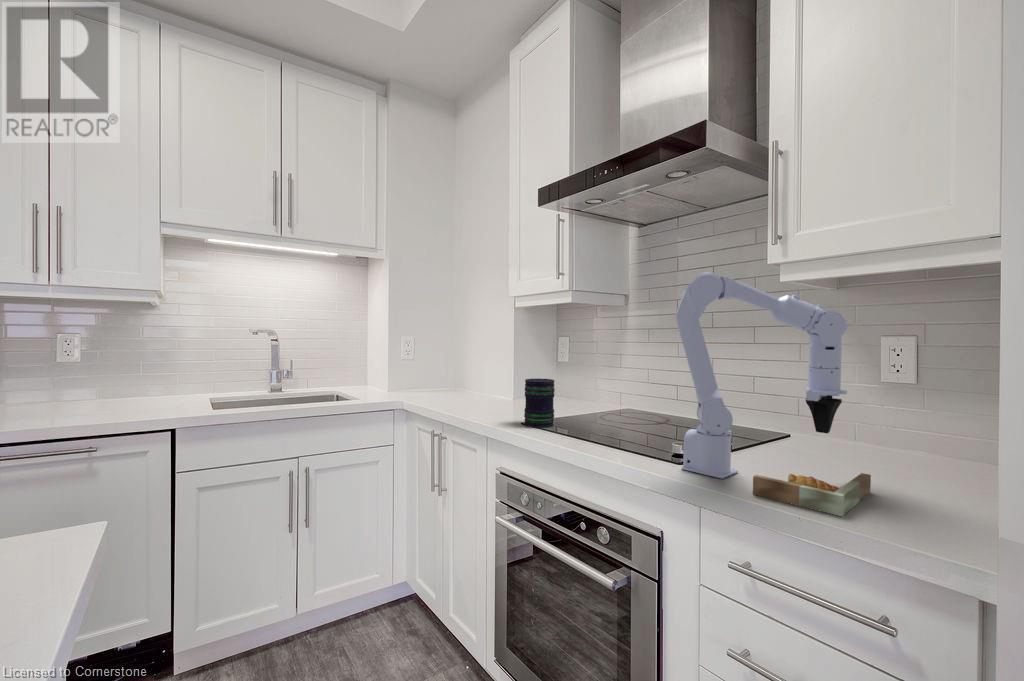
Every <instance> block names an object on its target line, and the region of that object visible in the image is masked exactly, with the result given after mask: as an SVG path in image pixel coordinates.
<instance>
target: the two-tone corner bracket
mask: <svg viewBox="0 0 1024 681" xmlns="http://www.w3.org/2000/svg"><path fill="white" fill-rule="evenodd" d="M871 477H872V475H871V474H868V473H863V472H862V473H860V474H858V475H857V476H855V477H853V478H852V479H851V480H850V481H848V482H846V483H845V484H844V485H842V486H841V487H840V488H839V489H838V490H837V491H835V492H831V491H827V490H822V489H818V488H813V487H809V486H804V485H800V484H795V483H791V482H788V480H787V481H786V480H781V479H777V478H772V477H768V476H763V475H759V474H755V475H753V477H752V495H754V496H757V495H758V496H759V497H761V496H762V498H765V497H766V498H765V499H769V500H773V499H774V500H773V501H777V500H778V502H781V501H783V502H782V503H785V502H787V503H786V504H789V503H792V504H791V505H793V504H796V505H795V506H797V505H799V506H798V507H801V506H804V507H803V508H805V507H808V508H807V509H809V508H812V509H811V510H813V509H816V510H815V511H817V510H820V511H819V512H821V511H823V512H822V513H825V512H827V513H826V514H828V513H831V514H830V515H832V514H834V516H836V515H838V516H837V517H840V516H842V517H843V516H845V514H847V513H846V512H849V511H850V510H852V508H854V507H856V505H857V504H858V503H860V502H861V501H862V500H863V499H865V498H866V497H867V496H868V495H869V494H870V493H871V484H872V483H871V482H872V479H871Z"/></svg>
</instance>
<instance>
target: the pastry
mask: <svg viewBox="0 0 1024 681" xmlns="http://www.w3.org/2000/svg"><path fill="white" fill-rule="evenodd" d="M787 482H791V483H795V484H800V485H804V486H809V487H813V488H818V489H822V490H827V491H831V492H835V491H837V490H838V489H840V488H839V486H836V485H833V484H832V485H831V484H830V483H828V482H826V481H823V480H821V479H818V478H817V479H816V478H815V477H813V476H805V475H802V474H801V475H800V474H799V475H795V474H793V473H789V474H788V476H787Z"/></svg>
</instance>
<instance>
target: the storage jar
mask: <svg viewBox="0 0 1024 681" xmlns="http://www.w3.org/2000/svg"><path fill="white" fill-rule="evenodd" d="M524 382H525V384H524V397H525V408H524V414H523V417H524V426H525V427H528V428H531V429H548V428H552V427H554V426H555V425H554V421H555V420H554V419H555V408H554V398H555V390H556V389H555V379H551V378H526V379H525V380H524Z"/></svg>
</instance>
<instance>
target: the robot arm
mask: <svg viewBox="0 0 1024 681" xmlns="http://www.w3.org/2000/svg"><path fill="white" fill-rule="evenodd" d="M731 299H734V300H737V301H740V302H742V303H745V304H749V305H751V306H754V307H757V308H759V309H763V310H765V311H769V312H770V313H771V316H772V319H773V320H775V321H777V322H779V323H782V324H785V325H788V326H790V327H792V328H795V329H798V330H800V331H803V332H806V333H807V334H808V335H809V346H808V371H807V373H808V376H807V378H808V379H807V387H806V396H805V397H806V398H805V403H806V404H807V406H808V407H809V408H808V409H809V410H810V412H811V416H812V420H813V425H814V429H815V432H816V433H820V434H830V431H831V429H832V425H833V421H834V418H835V415H836V413H837V411H838V409H839V407H840V405H842V403H843V400H842V398H833V397H840V396H841V395H847V394H848V390H847V389H841V381H842V380H841V379H842V378H841V376H842V372H841V371H842V369H841V368H842V347H843V346H842V336H843V335H844V334H845V333H846V331H847V330H848V327H849V324H848V323H846V319H845V317H844V316H843V315H842V313H840V312H837V311H836V310H835V311H834V310H824V309H823V308H824V306H823V305H821V304H816V305H815V304H811V303H809V302H807V301H804V300H801V296H799V295H797V294H792V295H791V296H790V295H787V294H786V295H784V296H780V297H777V296H774V295H772V294H769V293H767V292H765V291H763V290H761V289H758V288H756V287H753V286H751V285H749V284H746V283H743V282H741V281H739V280H736V279H735V278H731V277H728V276H725V275H718V274H716V273H714V272H711V271H704V272H701V273H699V274H698V275H697V276H696V277H695V278H694V279H693V280H692V281H690V283H689V284H688V285H687V286H686V288H685V289H684V291H683V293H682V296H681V298H680V302H679V304H678V307H677V310H676V313H675V321H676V324H677V328H678V332H679V335H680V339H681V342H682V343H681V344H682V345H683V350H684V353H685V357H686V360H687V364H688V368H689V372H690V375H691V377H692V378H691V379H692V382H693V385H694V390H695V394H696V399H697V410H696V417H697V419H698V421H699V422H700V423H699V425H697V426H696V428H689V429H688V430H687V431H686V432H685V435H684V438H683V456H682V458H683V459H682V460H683V461H682V462H683V464H682V466H681V469H682V470H684V471H688V472H693V473H698V474H701V475H705V476H709V477H714V478H717V479H725V478H727V477H729V476H732V475H734V474H737V473H738V472H739V470H738V469H735V468H732V464H731V459H732V430H730V429H731V427H732V426H733V421H734V420H733V415H732V413H731V411H730V410H729V409H728V408H727V407H726V406H725V403H724V401H723V397H722V395H721V392H720V390H719V388H718V384H717V380H716V377H715V376H716V375H715V373H714V369H713V366H712V363H711V358H710V355H709V352H708V348H707V343H706V340H705V337H704V334H703V330H702V327H701V326H702V325H701V323H700V318H701V316H702V315H703V314H704V312H705V311H706V309H707V307H708V306H709V305H710V304H712V303H713V302H714V301H716V300H718V301H721V300H731Z"/></svg>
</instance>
